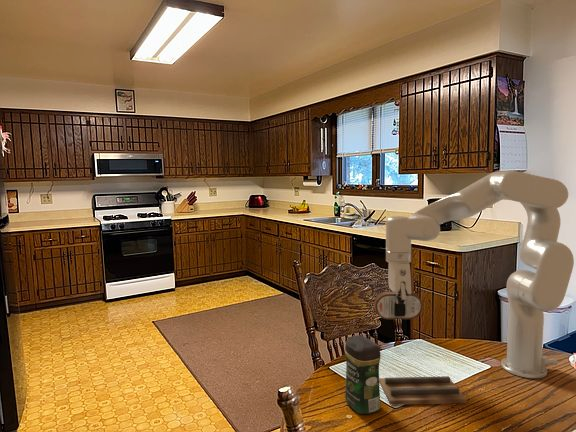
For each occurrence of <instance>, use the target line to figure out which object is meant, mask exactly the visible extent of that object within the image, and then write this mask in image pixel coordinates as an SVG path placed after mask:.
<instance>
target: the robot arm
mask: <svg viewBox="0 0 576 432" xmlns="http://www.w3.org/2000/svg"><path fill="white" fill-rule="evenodd" d="M568 199H569V191H568V188H567V186H566V185H565V184H564V183H563V182H561V181H559V180H557V179H554V178H550V177H549V178H548V177H544V176H539V175H535V174H530V173H526V172H522V171H518V170H497V171H494V172H491V173H489V174H487V175H485V176H484V177H481V178H480V179H478V180H477V181H475V182H473V183H471V184H470V185H468V186H466V187H464V188H463V189H461V190H459V191H457V192H455V193H453V194H450V195H447V196H446V197H443V198H440V199H439V200H436V201H434V202H431V203H429V204H428V205H425V206H424V207H421V208H420V209H418V210H417V211H415V212H414V213H412V214H411V215H410V216H404V215H403V216H401V215H396V216H395V215H393V216H389V217H388V218H386V220H385V262H387V263H388V267H387V268H388V275H387V276H388V278H387V279H388V281H387V282H388V287H389V290H391V292H393V293H394V294H395V300H396V303H394V315H395V316H405V300H406V293H407V294H408V295H410V294H411V292H412V276H411V275H412V274H411V266H410V263H411V262H412V241H418V242H419V241H420V242H431V241H433V240H435V239H436V238H437V237H438V236H439V235H440V232H441V225H442V224H445V223H446V222H450V221H455V220H462V219H463V220H464V219H467V218H471V217H474V216H475V215H477V214H478V213H480V212H482V211H484V210H486V209H488V208H489V207H491V206H494V205H496V204H497V203H499V202H500V201H503V200H504V201H505V200H507V201H513V202H517V203H519V204H521V205H522V207H523V208H524V210H525V212H526V215H527V224H526V229H525V232H524V235H523V239H522V243H521V248H520V251H519V259H520V260H521V262H522V263H523V264H524V265H526V266H527V267H529V268H532V269H535V272H533V271H530V270H525V269H521V270H520V269H519V270H516V271H514V272H512V273H511V274H510V275H509V276H508V278H507V281H506V285H505V286H506V296H507V301H508V302H507V303H508V315H507V316H508V319H507V321H508V322H507V324H508V325H507V344H506V345H507V347H506V357H504V358H502V359H501V360H500V362H501V363H500V364H501V365H500V366H501V367H502V368H503V369H504V370H505V372H508V373H509V374H513V375H515V376H518V377H521V378H527V379H542V378H544V377H546V376H547V375H548V369H547V367H548V365H550V366H557V365H558V360H557V358H554V357H553V358H549V357H548V356H547V355H543V345H544V343H543V340H544V322H545V317H544V312H553V311H555V310H556V309H558V308H559V307H560V306H561V305H562V304H563V301H564V299H565V297H566V293H567V289H568V286H569V283H570V280H571V277H572V273H573V268H574V265H575V261H574V254H573V253H572V251H571V248H569V246H567V245H565V244H564V243H562V242H559V241H558V237H559V234H560V230H561V229H560V228H561V215H560V212H559V210H558V208H561V207H562V206H564V205H565V203H566V202H567V201H568ZM398 292H400V293H398ZM405 292H406V293H405ZM398 296H400V297H399V298H398Z"/></svg>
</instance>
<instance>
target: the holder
mask: <svg viewBox="0 0 576 432" xmlns="http://www.w3.org/2000/svg"><path fill="white" fill-rule="evenodd" d="M379 386H380V387H381V389H382V391H383V393H384V395H386V396H385V398H386V397H387V398H386V400H387V399H388V400H387V402H388V401H389V402H388V404H389V405H390V406H392V405H391V404H406V405H435V404H436V405H438V404H439V405H441V404H442V405H443V404H467V403H468V402H467V401H468V399H467V397H466V396H465V395H464V393H463V392H462V391H461V390H460V387H458V386H457V385H456V384H455V383H454V382H453V381H452V379H451V377H450V376H449V375H447V376H446V375H445V376H407V377H406V376H402V377H399V376H397V377H384V378H383V377H382V378H380V377H379Z"/></svg>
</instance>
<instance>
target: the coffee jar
mask: <svg viewBox="0 0 576 432" xmlns="http://www.w3.org/2000/svg"><path fill="white" fill-rule="evenodd" d="M344 351H345V352H344V354H345V365H346V367H345V369H346V370H345V373H346V374H345V391H344V392H345V395H344V397H345V402H346V404H348V406H349V407H350V409H352V410H353V411H355V412H356V413H358V414H360V415H362V414H363V415H372V414H374V413H376V412H377V411H379V410H380V409H381V392H380V391H381V390H380V389H381V388H380V383H379V378H380V361H381V356H382V354H381V348H380V346H379V344H378V343H376V342H374V341H373V340H371V339H370V338H367V337H365V336H363V335H362V334H358V335H353V336H349V337H348V338H347V339H346V340H345V348H344Z"/></svg>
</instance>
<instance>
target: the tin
mask: <svg viewBox="0 0 576 432" xmlns="http://www.w3.org/2000/svg"><path fill="white" fill-rule="evenodd" d="M398 293H400V292H398ZM405 293H406V292H405ZM399 297H400V296H398V298H399ZM394 303H396V300H395V294H394V293H393V292H392V291H382V292H380V293H378V294H377V295H376V296H375V298H374V300H373V309H374V311H375V313H376V314H377V315H378V316H379V317H380V318H381V319H384V320H414V319H416V318H418V317H419V316H420V315H421V313H422V312H423V307H424V305H423V301H422V299H421V298H420V296H419V295H418V294H417V293H415V292H413V291H411V294H410V295H408V294H407V293H406V300H405V316H395V315H394Z"/></svg>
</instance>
